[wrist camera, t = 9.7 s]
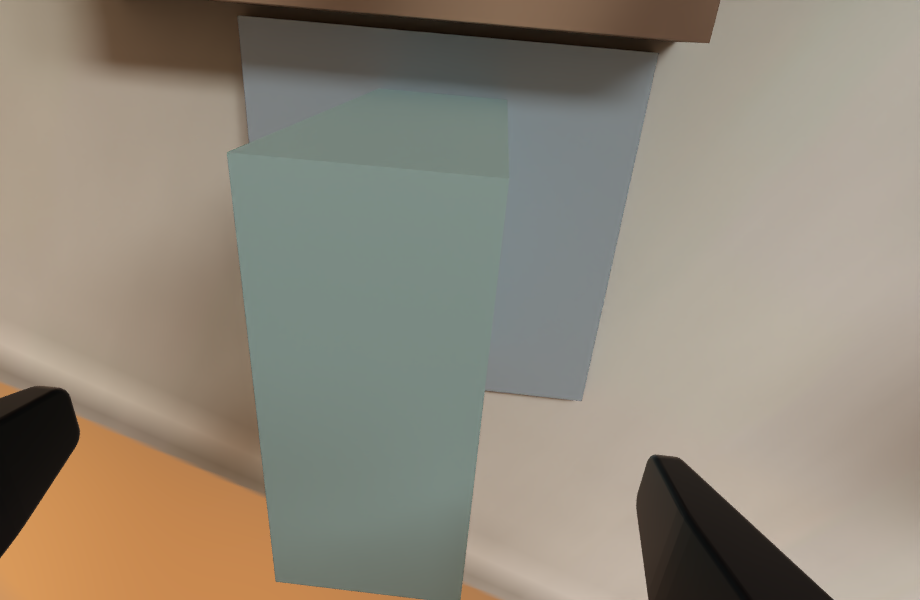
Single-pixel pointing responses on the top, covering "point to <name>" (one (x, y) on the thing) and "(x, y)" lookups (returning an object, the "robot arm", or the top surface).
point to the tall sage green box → (372, 332)
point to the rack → (544, 14)
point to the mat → (530, 162)
